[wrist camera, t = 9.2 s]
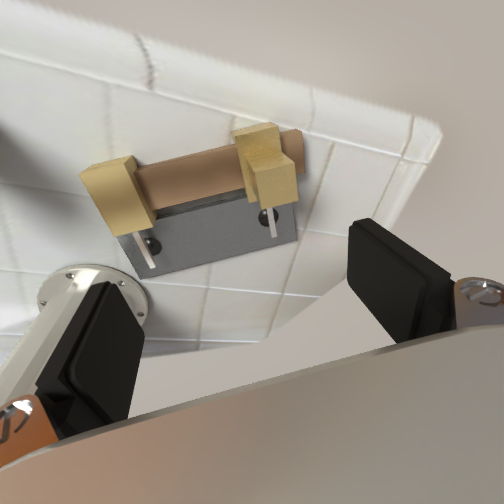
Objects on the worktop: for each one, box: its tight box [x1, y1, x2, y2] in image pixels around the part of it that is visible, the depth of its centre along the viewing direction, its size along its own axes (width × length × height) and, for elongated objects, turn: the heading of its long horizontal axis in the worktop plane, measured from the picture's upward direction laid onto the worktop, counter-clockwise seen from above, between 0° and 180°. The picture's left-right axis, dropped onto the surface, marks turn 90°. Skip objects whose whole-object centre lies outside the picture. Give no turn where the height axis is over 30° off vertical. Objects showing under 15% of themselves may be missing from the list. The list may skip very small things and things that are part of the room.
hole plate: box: [116, 194, 297, 280], centre depth 31 cm, size 7×20×1 cm, turn 101°
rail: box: [78, 129, 305, 269], centre depth 27 cm, size 11×21×3 cm, turn 102°
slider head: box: [231, 122, 298, 238], centre depth 25 cm, size 11×4×9 cm, turn 12°
